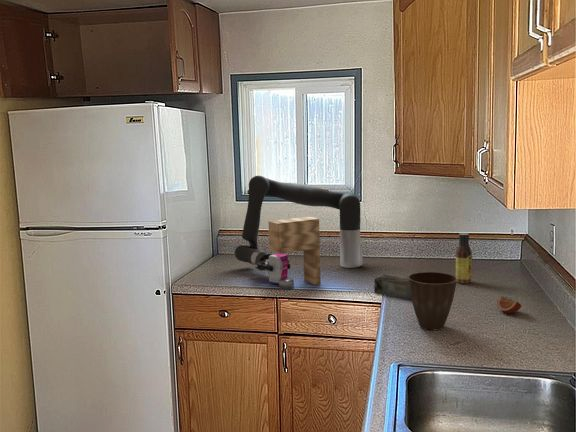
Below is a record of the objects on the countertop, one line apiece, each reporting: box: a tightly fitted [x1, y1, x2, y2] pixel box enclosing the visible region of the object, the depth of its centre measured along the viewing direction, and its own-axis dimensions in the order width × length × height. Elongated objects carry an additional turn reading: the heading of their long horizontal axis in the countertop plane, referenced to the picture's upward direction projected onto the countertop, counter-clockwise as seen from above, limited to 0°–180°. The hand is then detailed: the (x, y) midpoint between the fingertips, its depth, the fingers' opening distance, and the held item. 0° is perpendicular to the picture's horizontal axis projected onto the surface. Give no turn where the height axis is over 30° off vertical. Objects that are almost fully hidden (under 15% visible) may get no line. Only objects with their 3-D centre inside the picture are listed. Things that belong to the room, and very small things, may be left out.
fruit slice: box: [496, 295, 522, 314], centre depth 199 cm, size 8×7×5 cm
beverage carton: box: [373, 274, 412, 300], centre depth 224 cm, size 8×19×7 cm, turn 49°
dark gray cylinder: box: [278, 277, 295, 290], centre depth 239 cm, size 6×6×3 cm
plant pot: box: [407, 271, 457, 331], centre depth 187 cm, size 15×15×16 cm
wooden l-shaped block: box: [267, 216, 321, 285], centre depth 239 cm, size 19×8×27 cm, turn 120°
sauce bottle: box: [455, 232, 473, 285], centre depth 237 cm, size 7×6×20 cm
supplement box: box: [268, 253, 289, 285], centre depth 244 cm, size 6×6×12 cm
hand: (280, 267), depth 242 cm, fingers closed on supplement box, 7 cm apart
